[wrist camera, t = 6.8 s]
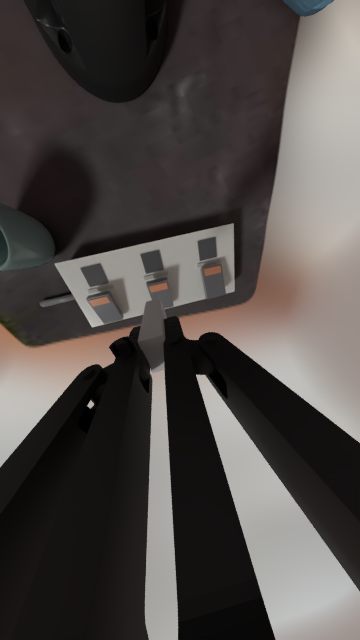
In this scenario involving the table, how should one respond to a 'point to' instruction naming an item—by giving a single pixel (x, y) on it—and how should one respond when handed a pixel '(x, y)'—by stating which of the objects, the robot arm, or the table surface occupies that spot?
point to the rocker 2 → (160, 291)
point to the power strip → (149, 271)
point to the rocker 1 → (105, 307)
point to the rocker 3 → (213, 281)
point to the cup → (23, 241)
